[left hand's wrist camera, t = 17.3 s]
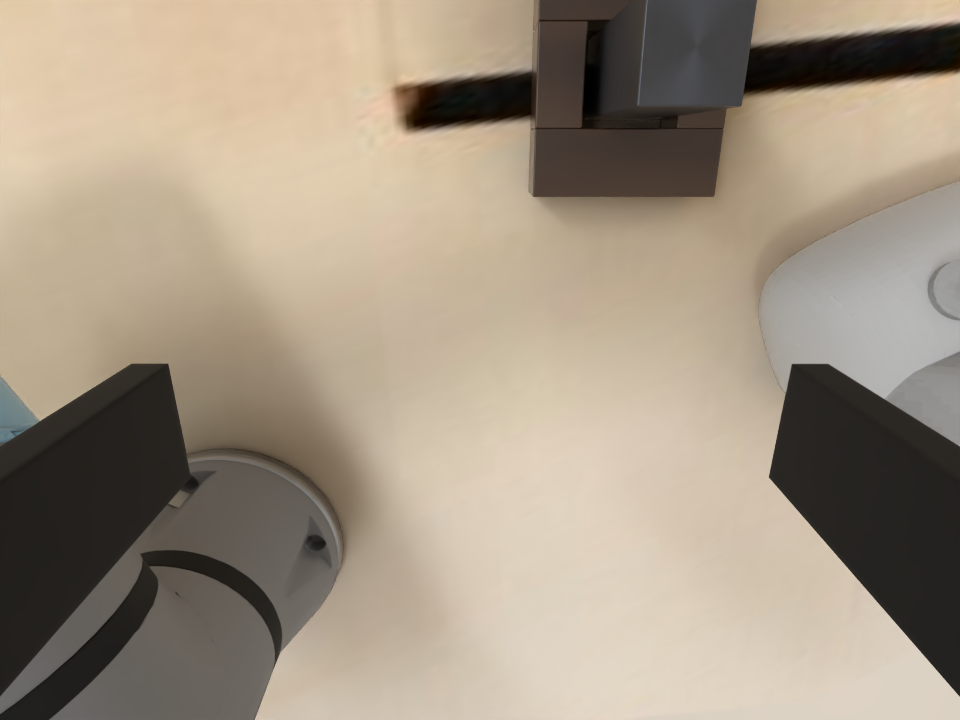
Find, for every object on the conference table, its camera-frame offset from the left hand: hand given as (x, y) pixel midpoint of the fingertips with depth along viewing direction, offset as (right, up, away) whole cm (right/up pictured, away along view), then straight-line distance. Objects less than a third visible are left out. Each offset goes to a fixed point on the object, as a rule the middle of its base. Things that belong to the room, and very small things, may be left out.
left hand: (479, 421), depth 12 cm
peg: (+8, +17, +20) cm, 27 cm away
